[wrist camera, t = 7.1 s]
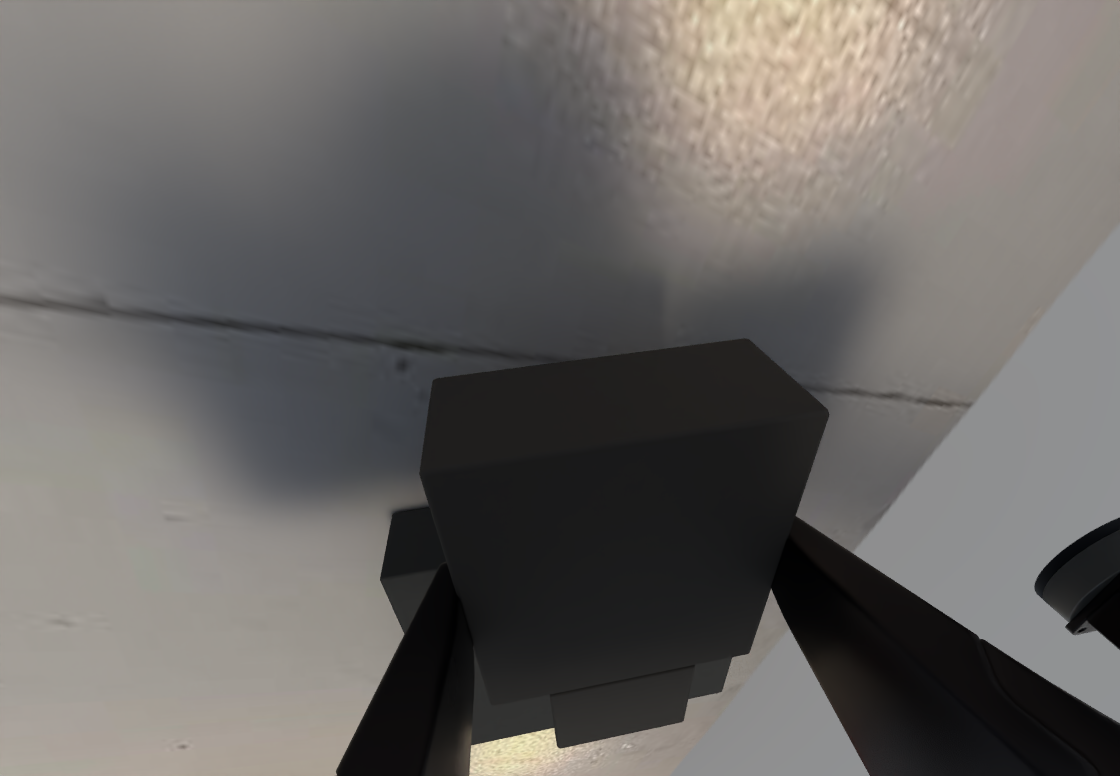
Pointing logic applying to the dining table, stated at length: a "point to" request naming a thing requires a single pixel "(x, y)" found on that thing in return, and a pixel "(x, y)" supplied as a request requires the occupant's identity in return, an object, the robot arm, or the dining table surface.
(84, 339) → the dining table surface
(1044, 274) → the dining table surface
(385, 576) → the base pad
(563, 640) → the pad
